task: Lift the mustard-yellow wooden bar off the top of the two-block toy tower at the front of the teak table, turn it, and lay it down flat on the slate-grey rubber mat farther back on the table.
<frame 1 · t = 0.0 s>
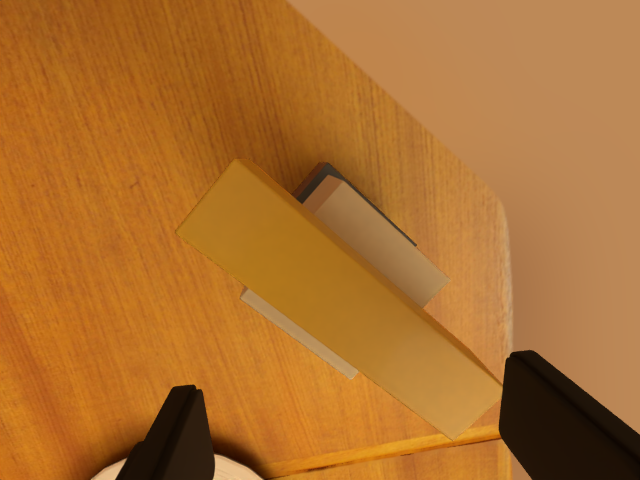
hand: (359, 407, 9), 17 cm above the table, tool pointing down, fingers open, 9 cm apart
tower: (323, 231, 26), on the table
bar: (347, 289, 14), point 12 cm above the table, touching tower
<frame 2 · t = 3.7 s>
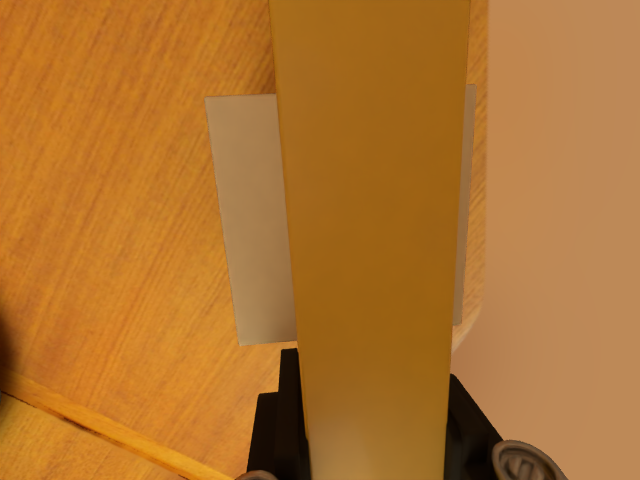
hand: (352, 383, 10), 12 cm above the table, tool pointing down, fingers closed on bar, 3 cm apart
tower: (318, 188, 20), on the table
bar: (349, 225, 9), point 12 cm above the table, touching gripper, tower
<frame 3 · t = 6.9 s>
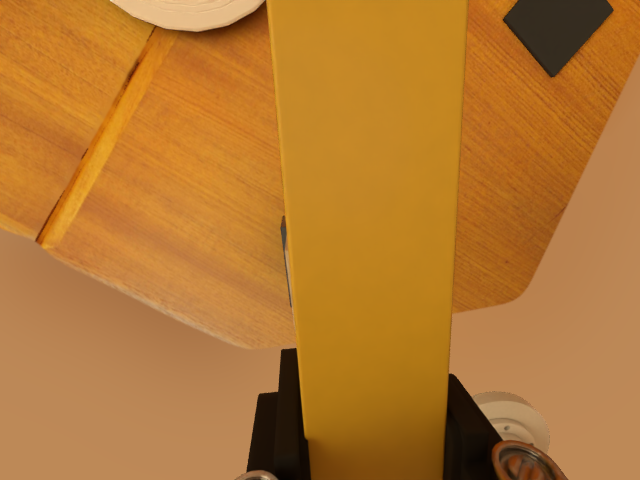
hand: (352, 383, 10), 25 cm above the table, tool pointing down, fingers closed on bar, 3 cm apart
mat: (556, 15, 31), on the table
tower: (322, 246, 35), on the table
bar: (348, 222, 9), point 25 cm above the table, touching gripper
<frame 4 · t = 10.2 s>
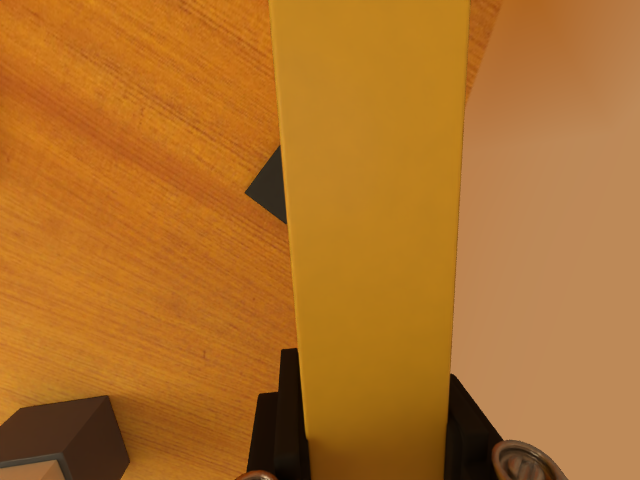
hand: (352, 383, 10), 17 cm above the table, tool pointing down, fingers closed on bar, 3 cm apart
mat: (312, 184, 26), on the table
tower: (77, 435, 30), on the table
bar: (348, 221, 9), point 18 cm above the table, touching gripper
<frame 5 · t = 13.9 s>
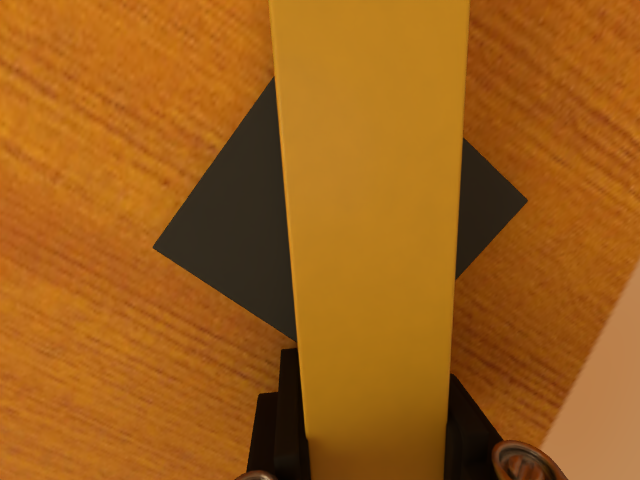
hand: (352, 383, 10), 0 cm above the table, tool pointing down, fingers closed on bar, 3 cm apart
mat: (343, 221, 10), on the table
bar: (348, 220, 9), point 1 cm above the table, touching gripper
when the fingers open (1 cm above the table, at t = 17.1 s): bar drops 1 cm, resting on mat.
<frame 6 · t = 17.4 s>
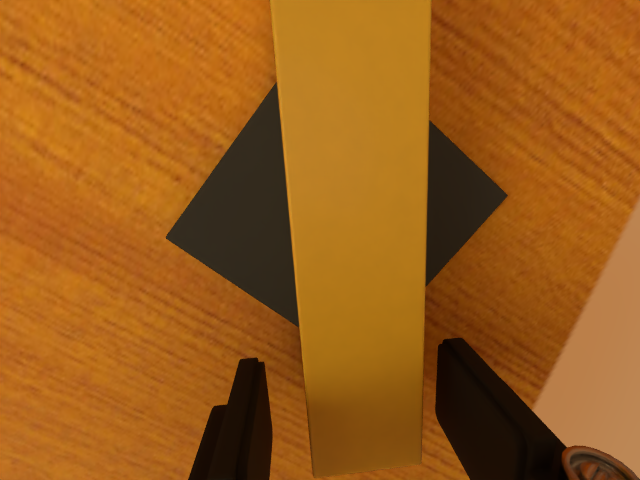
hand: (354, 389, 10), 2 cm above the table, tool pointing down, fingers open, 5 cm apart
mat: (339, 214, 10), on the table
bar: (341, 215, 10), resting on mat
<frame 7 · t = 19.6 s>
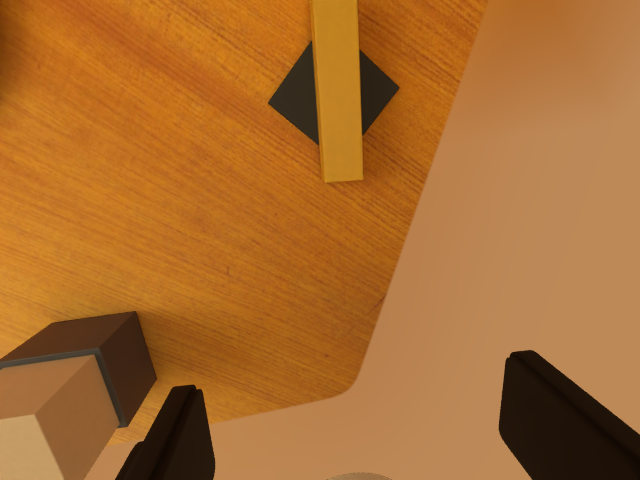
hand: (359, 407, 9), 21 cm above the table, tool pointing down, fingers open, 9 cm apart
mat: (333, 95, 27), on the table
tower: (106, 351, 31), on the table
bar: (334, 94, 26), resting on mat
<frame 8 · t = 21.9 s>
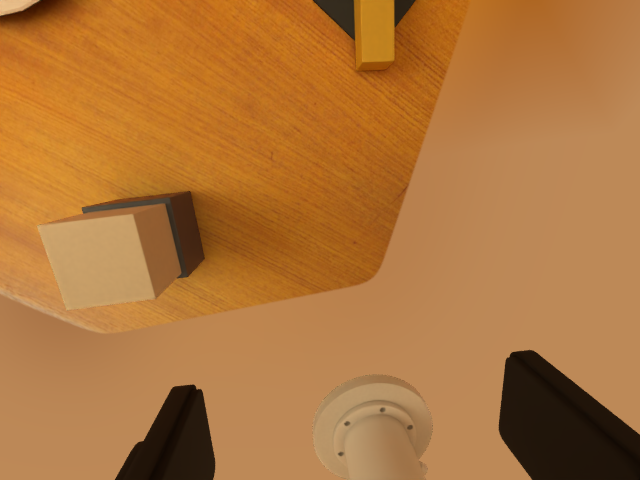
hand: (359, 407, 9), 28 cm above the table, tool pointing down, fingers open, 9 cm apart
tower: (162, 230, 36), on the table
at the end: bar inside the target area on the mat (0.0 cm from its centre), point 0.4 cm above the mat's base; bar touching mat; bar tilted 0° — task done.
